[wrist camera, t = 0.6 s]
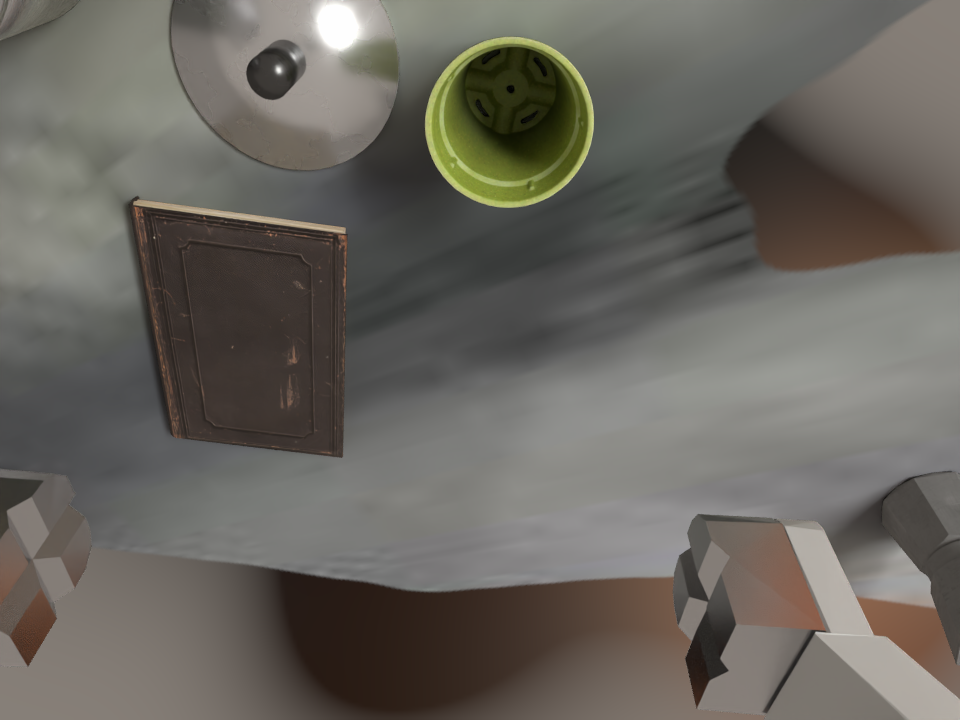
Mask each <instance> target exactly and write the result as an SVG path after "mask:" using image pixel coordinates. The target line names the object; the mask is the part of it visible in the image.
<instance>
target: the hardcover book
mask: <svg viewBox="0 0 960 720" xmlns="http://www.w3.org/2000/svg"><path fill="white" fill-rule="evenodd" d="M129 208H130V214H131V219H132V224H133V230H134V235H135V241H136V246H137V252H138V257H139V262H140V268H141V273H142V279H143V284H144V290H145V295H146V301H147V306H148V311H149V317H150V322H151V328H152V333H153V339H154V344H155V349H156V355H157V360H158V366H159V371H160V377H161V382H162V387H163V393H164V398H165V404H166V409H167V415H168V420H169V426H170V431H171V435H172V436H173V437H175V438H183V439H191V440H200V441H208V442H216V443H224V444H233V445H241V446H249V447H258V448H266V449H274V450H282V451H291V452H299V453H307V454H316V455H324V456H332V457H341V458H342V457H343V426H344V376H345V326H346V276H347V234H345V231H346V228H343V227H336V226H329V225H321V224H314V223H307V222H299V221H292V220H285V219H278V218H270V217H263V216H256V215H248V214H241V213H234V212H227V211H219V210H212V209H205V208H197V207H190V206H183V205H176V204H168V203H161V202H154V201H146V200H139V197H138V196H137V197H135V198H134V199H133V200H132V201H131V202H130V203H129Z"/></svg>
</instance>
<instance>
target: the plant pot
mask: <svg viewBox="0 0 960 720" xmlns="http://www.w3.org/2000/svg"><path fill="white" fill-rule="evenodd" d="M494 50H500V54H498V55H496V56H494V57H493V58H491V59H490V60H489V61H488V62H487V63H486V64H482V60H483V58H484V57H485V56H486V55H488V54H489V53H491V52H492V51H494ZM534 57H538V58H539V60H540V61H541V63H542V64H543V65H544V66H545V67H546V70H547V75H546V76H543V75H542V72H541V70H540V68H539V67H538V65H537V64H536V62H534ZM509 85H512V86H513V87H514V92H513V93H509V92H508V91H507V87H508V86H509ZM477 99H478V100H479V101H480V103H481V105H482V107H483V108H484V110H485V111H486V112H487V113H488V115H489V117H485V116H483V115H482V113H481V112H480V111H479V109H478V108H477V106H476V100H477ZM536 110H538V113H537V115H536V116H535V117H534V119H532V120H531V121H529V122H527V123H521V119H523V118H525V117H527V116H529V115H531V114H532V113H533V112H535V111H536ZM593 128H594V114H593V106H592V101H591V98H590V94H589V92H588V89H587V87H586V85H585V83H584V81H583V79H582V77H581V76H580V74H579V73H578V71H577V70H576V68H575V67H574V66H573V65H572V64H571V63H570V61H569V60H567V59H566V58H565V57H564V56H563V55H562V54H561V53H559V52H558V51H556V50H555V49H553V48H551V47H550V46H548V45H546V44H544V43H541V42H539V41H536V40H532V39H528V38H523V37H499V38H494V39H490V40H486V41H483V42H481V43H478V44H476V45H474V46H472V47H470V48H468V49H467V50H465V51H464V52H462V53H461V54H460V55H458V56H457V57H456V58H455V59H454V60H453V61H452V62H451V63H450V64H449V65H448V66H447V67H446V69H445V70H444V71H443V73H442V74H441V76H440V77H439V78H438V80H437V82H436V83H435V85H434V88H433V90H432V92H431V95H430V97H429V101H428V105H427V109H426V116H425V134H426V140H427V145H428V149H429V152H430V154H431V157H432V159H433V161H434V163H435V165H436V167H437V168H438V170H439V171H440V173H441V174H442V175H443V177H444V178H445V179H446V180H447V181H448V182H449V183H450V184H451V185H452V186H453V187H454V188H455V189H456V190H458V191H459V192H460V193H462V194H464V195H465V196H467V197H469V198H471V199H472V200H475V201H477V202H480V203H483V204H486V205H490V206H496V207H506V208H513V207H522V206H527V205H531V204H534V203H537V202H539V201H542V200H544V199H546V198H548V197H550V196H552V195H553V194H555V193H556V192H557V191H559V190H560V189H562V188H563V187H564V186H565V185H566V184H567V183H568V182H569V181H570V180H571V179H572V178H573V177H574V175H575V174H576V173H577V171H578V170H579V168H580V167H581V165H582V164H583V162H584V160H585V158H586V156H587V153H588V151H589V148H590V145H591V140H592V136H593Z"/></svg>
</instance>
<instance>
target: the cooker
mask: <svg viewBox="0 0 960 720" xmlns="http://www.w3.org/2000/svg"><path fill="white" fill-rule="evenodd" d="M79 1H80V0H0V41H1V40H3V39H6V38H8V37H11V36H14V35H16V34H19V33H21V32H24V31H26V30H29V29H32V28H34V27H37V26H39V25H42V24H44V23H47V22H50V21H52V20H54V19H56V18H59V17H61V16H62V15H64V14H65V13H67V12H68V11H69V10H71V9H72V8H73V7H74V6H75V5H76V4H77V3H78V2H79Z"/></svg>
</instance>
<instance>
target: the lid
mask: <svg viewBox="0 0 960 720" xmlns="http://www.w3.org/2000/svg"><path fill="white" fill-rule="evenodd" d="M171 38H172V48H173V53H174V58H175V62H176V66H177V69H178V72H179V75H180V78H181V80H182V82H183V84H184V87H185V89H186V91H187V93H188V95H189V96H190V98H191V100H192V102H193V103H194V105H195V107H196V108H197V109H198V111H199V112H200V113H201V115H202V116H203V118H204V119H205V120H206V121H207V122H208V123H209V124H210V126H211V127H212V128H213V129H214V130H215V131H216V132H217V133H218V134H219V135H221V136H222V137H223V138H224V139H225V140H226V141H227V142H229V143H230V144H232V145H233V146H234V147H236V148H237V149H238V150H240V151H242V152H244V153H245V154H247V155H249V156H250V157H253V158H255V159H257V160H259V161H261V162H264V163H267V164H270V165H273V166H276V167H281V168H286V169H291V170H318V169H323V168H328V167H332V166H335V165H338V164H341V163H343V162H345V161H347V160H349V159H351V158H353V157H355V156H356V155H357V154H359V153H360V152H362V151H363V150H364V149H365V148H366V147H367V146H368V145H370V144H371V143H372V142H373V141H374V139H375V138H376V137H377V136H378V134H379V133H380V132H381V130H382V129H383V127H384V125H385V123H386V122H387V120H388V118H389V116H390V113H391V111H392V108H393V106H394V103H395V99H396V95H397V91H398V84H399V75H400V71H399V53H398V46H397V41H396V37H395V33H394V29H393V26H392V24H391V21H390V19H389V16H388V13H387V11H386V9H385V7H384V5H383V4H382V2H381V0H174V5H173V10H172V18H171Z"/></svg>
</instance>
